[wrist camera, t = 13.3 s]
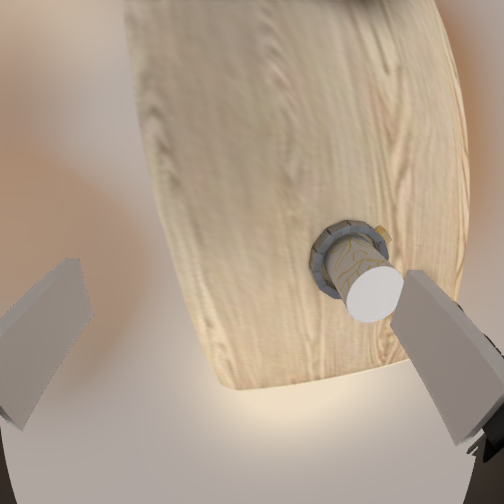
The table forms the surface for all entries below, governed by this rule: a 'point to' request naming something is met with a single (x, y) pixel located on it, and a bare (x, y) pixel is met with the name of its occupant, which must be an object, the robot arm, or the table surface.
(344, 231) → the collar
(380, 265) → the grey cylinder
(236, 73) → the table surface
